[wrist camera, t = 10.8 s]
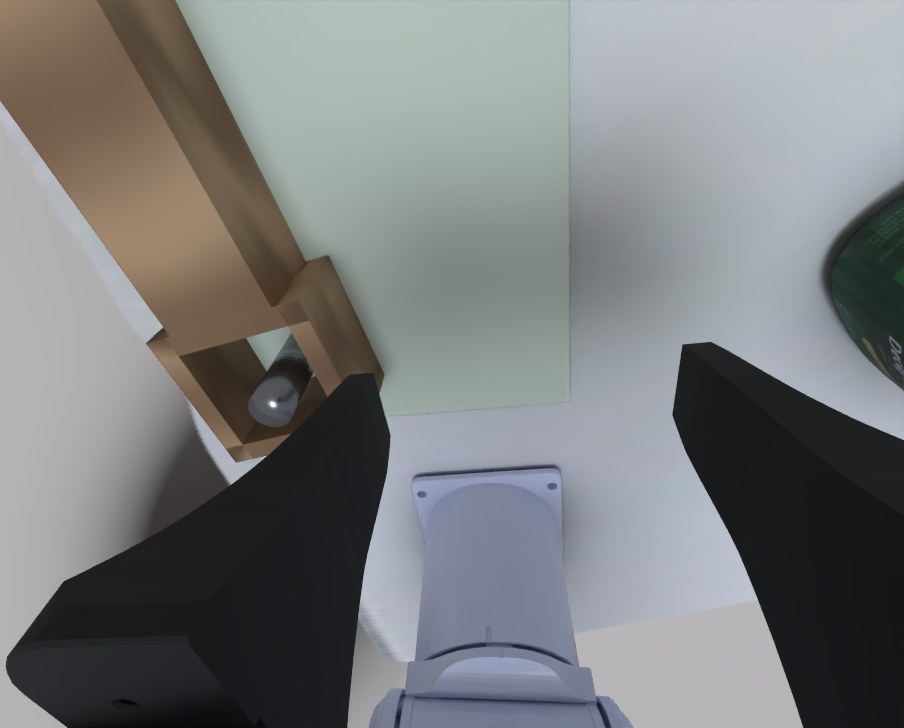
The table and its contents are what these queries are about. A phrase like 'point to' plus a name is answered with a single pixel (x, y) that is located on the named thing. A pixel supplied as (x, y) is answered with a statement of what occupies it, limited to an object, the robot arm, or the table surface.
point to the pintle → (281, 386)
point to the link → (177, 203)
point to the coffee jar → (875, 289)
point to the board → (417, 178)
